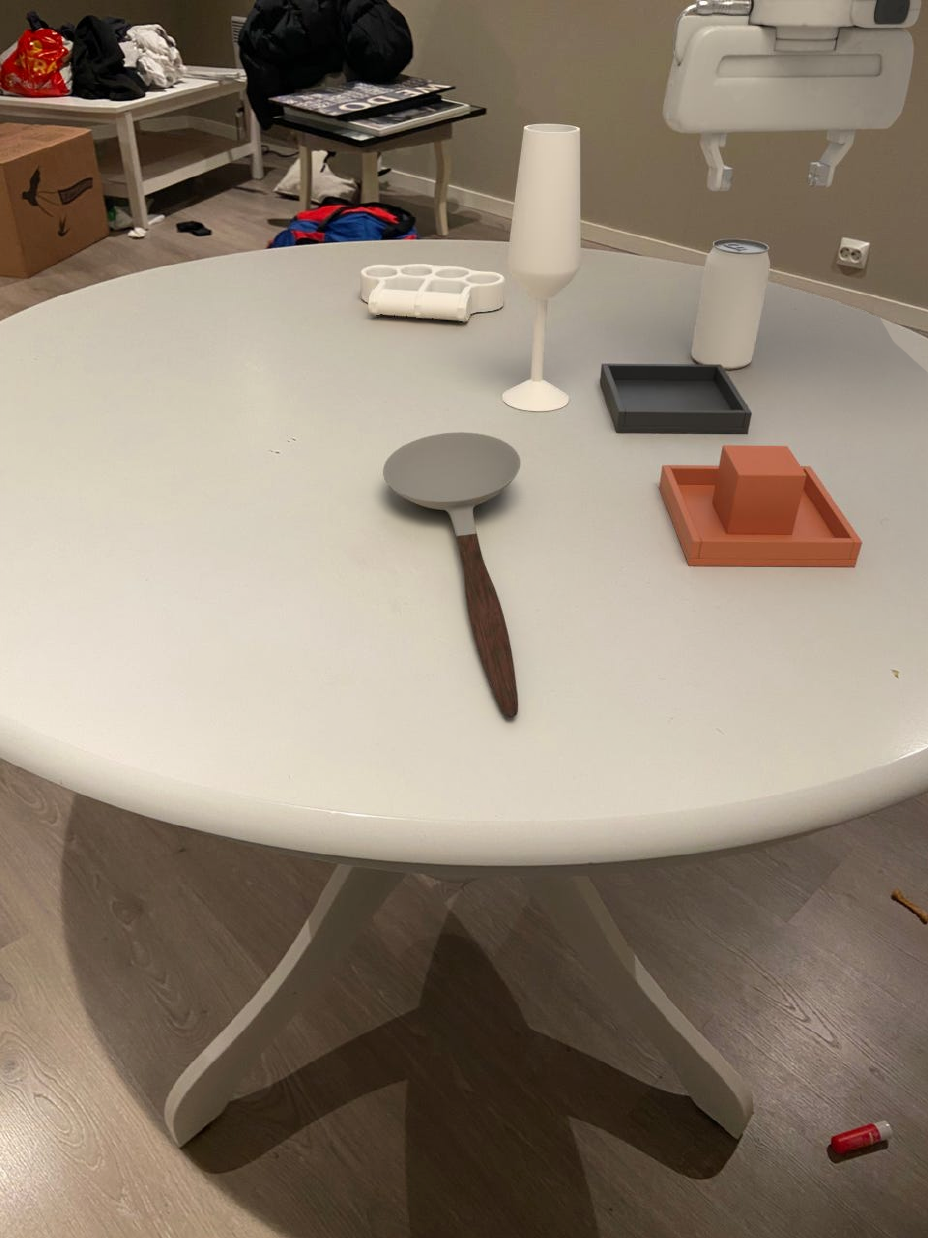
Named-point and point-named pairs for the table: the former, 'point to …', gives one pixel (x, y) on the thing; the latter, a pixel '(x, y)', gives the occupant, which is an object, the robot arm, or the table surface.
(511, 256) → the champagne flute
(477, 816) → the table surface
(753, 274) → the can
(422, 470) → the spoon
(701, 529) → the terracotta tray
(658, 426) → the charcoal tray
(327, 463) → the table surface
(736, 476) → the block
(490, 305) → the white brass knuckles
